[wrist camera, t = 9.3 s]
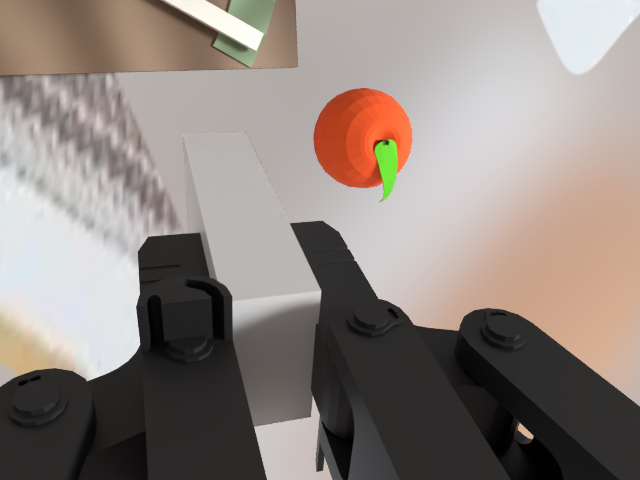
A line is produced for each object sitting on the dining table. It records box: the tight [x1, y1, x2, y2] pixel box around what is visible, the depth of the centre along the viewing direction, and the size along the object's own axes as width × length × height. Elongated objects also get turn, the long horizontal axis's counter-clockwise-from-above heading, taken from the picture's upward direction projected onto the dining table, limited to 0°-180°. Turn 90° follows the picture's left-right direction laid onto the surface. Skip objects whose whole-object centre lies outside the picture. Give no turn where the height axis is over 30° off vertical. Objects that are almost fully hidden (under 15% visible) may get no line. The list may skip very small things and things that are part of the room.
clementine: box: [314, 88, 412, 202], centre depth 43 cm, size 8×7×7 cm
